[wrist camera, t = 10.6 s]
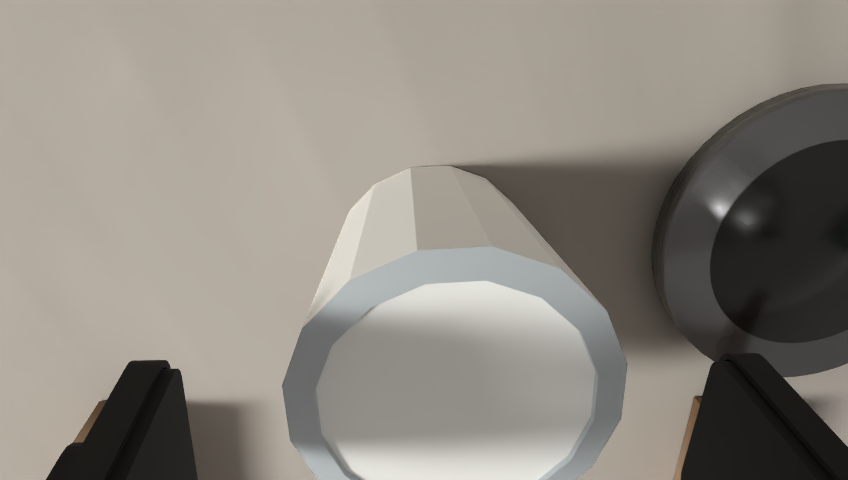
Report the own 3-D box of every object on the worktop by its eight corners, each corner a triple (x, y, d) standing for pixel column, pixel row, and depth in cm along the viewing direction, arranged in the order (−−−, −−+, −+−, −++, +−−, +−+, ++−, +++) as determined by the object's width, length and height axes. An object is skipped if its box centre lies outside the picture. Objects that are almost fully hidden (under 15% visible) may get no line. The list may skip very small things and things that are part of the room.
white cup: (588, 275, 20) (689, 429, 13) (407, 389, 21) (418, 579, 14) (463, 92, 17) (511, 172, 11) (266, 235, 18) (204, 382, 12)
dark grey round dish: (684, 79, 17) (702, 86, 16) (996, 87, 18) (1030, 94, 17) (629, 359, 21) (641, 379, 20) (890, 359, 21) (914, 377, 20)
